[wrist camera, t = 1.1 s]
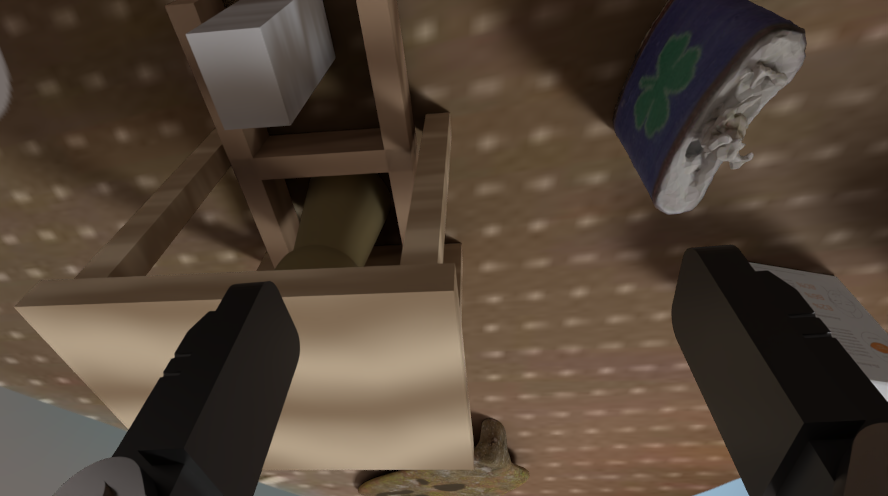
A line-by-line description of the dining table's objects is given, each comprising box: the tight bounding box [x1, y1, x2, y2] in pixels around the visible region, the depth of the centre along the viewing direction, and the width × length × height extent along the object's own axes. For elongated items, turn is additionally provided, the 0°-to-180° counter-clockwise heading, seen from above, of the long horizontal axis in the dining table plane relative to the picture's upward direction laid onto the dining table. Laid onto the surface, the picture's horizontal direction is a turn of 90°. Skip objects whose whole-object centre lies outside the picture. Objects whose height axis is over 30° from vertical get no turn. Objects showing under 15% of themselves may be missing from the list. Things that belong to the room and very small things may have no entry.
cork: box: [274, 173, 391, 271], centre depth 30 cm, size 6×6×11 cm
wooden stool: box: [14, 112, 474, 470], centre depth 31 cm, size 21×17×16 cm
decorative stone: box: [358, 419, 529, 496], centre depth 60 cm, size 25×15×5 cm, turn 132°
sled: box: [165, 0, 419, 268], centre depth 28 cm, size 20×11×9 cm, turn 5°
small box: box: [749, 262, 888, 402], centre depth 34 cm, size 8×6×10 cm
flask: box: [613, 0, 807, 214], centre depth 24 cm, size 9×3×11 cm, turn 165°
